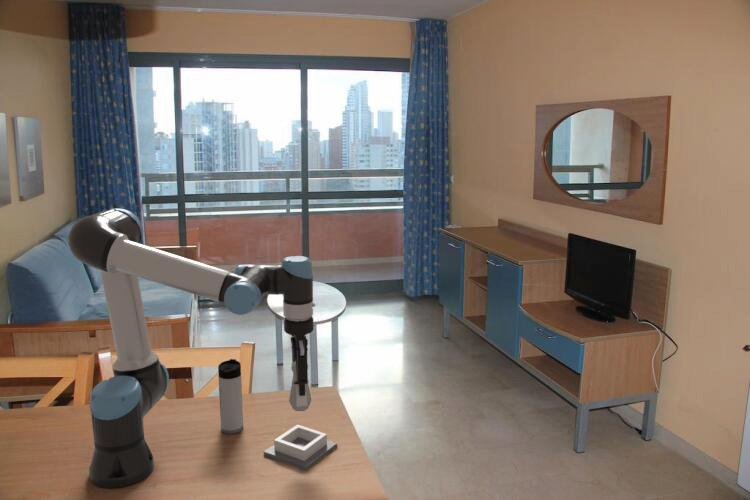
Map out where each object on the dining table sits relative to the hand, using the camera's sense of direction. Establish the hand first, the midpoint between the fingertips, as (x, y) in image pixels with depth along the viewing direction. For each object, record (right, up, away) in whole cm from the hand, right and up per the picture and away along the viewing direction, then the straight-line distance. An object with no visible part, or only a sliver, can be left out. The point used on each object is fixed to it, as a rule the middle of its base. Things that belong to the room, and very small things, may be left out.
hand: (300, 399), depth 169 cm
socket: (0, -14, +3) cm, 15 cm away
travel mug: (-21, -12, +15) cm, 28 cm away
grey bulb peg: (0, -2, +1) cm, 3 cm away
